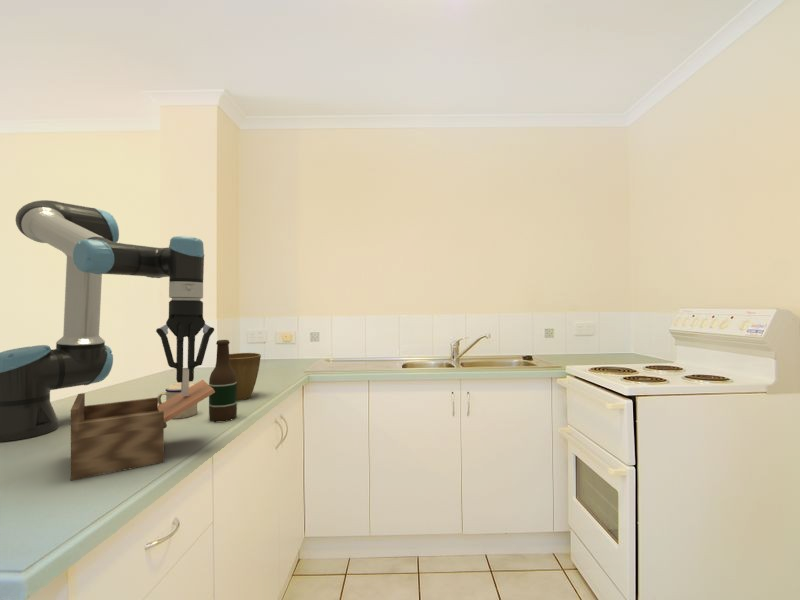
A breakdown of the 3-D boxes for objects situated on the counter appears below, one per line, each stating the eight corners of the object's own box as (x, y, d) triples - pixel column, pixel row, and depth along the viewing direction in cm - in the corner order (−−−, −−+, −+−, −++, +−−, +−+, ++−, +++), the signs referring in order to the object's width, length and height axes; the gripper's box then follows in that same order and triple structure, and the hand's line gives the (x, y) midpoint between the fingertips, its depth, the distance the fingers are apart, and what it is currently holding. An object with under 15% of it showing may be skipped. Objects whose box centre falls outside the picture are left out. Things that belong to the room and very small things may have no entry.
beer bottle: (209, 423, 118) (209, 341, 118) (208, 417, 125) (208, 339, 125) (238, 420, 122) (237, 340, 122) (235, 414, 129) (235, 338, 129)
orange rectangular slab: (161, 419, 91) (213, 388, 97) (156, 406, 103) (202, 379, 109) (166, 426, 91) (217, 394, 97) (160, 412, 103) (206, 385, 109)
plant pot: (216, 396, 154) (216, 354, 154) (257, 392, 161) (257, 352, 161) (219, 404, 141) (219, 358, 141) (264, 399, 148) (264, 356, 148)
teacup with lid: (202, 411, 133) (202, 375, 133) (190, 418, 124) (190, 380, 124) (165, 411, 132) (165, 376, 132) (149, 419, 123) (149, 381, 123)
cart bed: (70, 480, 80) (70, 409, 80) (78, 453, 95) (78, 393, 95) (166, 461, 90) (166, 398, 90) (160, 439, 104) (160, 385, 105)
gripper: (157, 299, 93) (155, 401, 93) (217, 299, 101) (216, 394, 100) (155, 299, 100) (153, 395, 99) (211, 300, 107) (210, 389, 106)
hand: (184, 395), depth 100 cm, fingers closed
